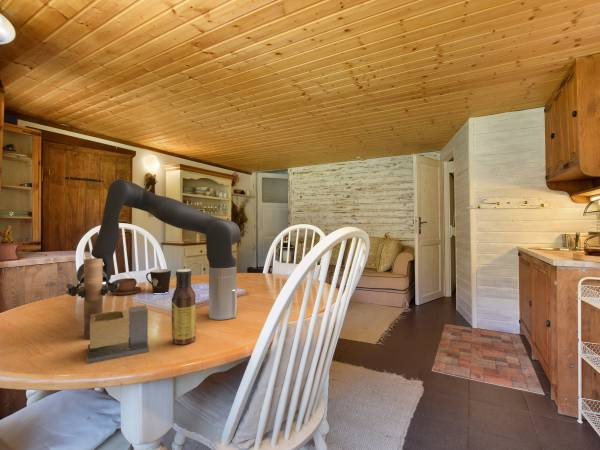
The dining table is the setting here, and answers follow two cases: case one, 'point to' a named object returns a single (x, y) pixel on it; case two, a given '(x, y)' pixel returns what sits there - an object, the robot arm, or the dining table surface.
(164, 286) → the coffee mug
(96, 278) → the rod
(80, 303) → the dining table surface
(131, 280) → the cup and saucer
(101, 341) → the bracket
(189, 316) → the sauce bottle
